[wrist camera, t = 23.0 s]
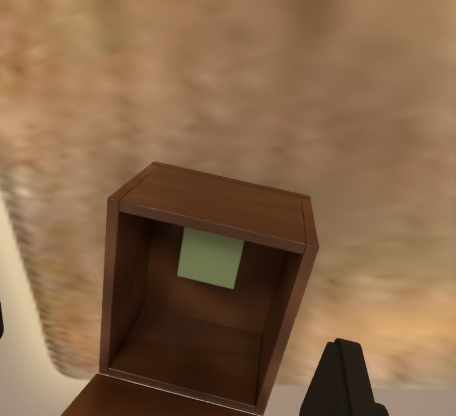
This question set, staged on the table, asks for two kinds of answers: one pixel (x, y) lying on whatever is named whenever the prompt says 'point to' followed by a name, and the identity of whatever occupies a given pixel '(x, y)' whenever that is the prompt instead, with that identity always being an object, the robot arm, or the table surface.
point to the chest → (202, 285)
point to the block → (209, 257)
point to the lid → (138, 401)
